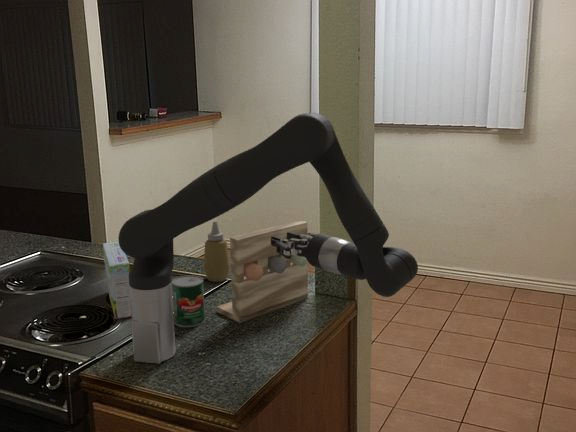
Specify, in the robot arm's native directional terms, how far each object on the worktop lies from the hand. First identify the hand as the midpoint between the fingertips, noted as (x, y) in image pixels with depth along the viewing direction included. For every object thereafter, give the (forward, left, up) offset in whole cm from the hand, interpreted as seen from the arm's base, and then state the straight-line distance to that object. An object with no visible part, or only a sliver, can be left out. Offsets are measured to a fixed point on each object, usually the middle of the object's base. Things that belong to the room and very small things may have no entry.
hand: (280, 238), depth 149 cm
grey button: (+13, +4, -13) cm, 19 cm away
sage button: (+19, 0, -13) cm, 23 cm away
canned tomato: (+2, +25, -24) cm, 35 cm away
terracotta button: (+6, +9, -13) cm, 17 cm away
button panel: (+16, +9, -24) cm, 30 cm away
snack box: (+9, +48, -24) cm, 54 cm away
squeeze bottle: (+33, +28, -24) cm, 49 cm away
